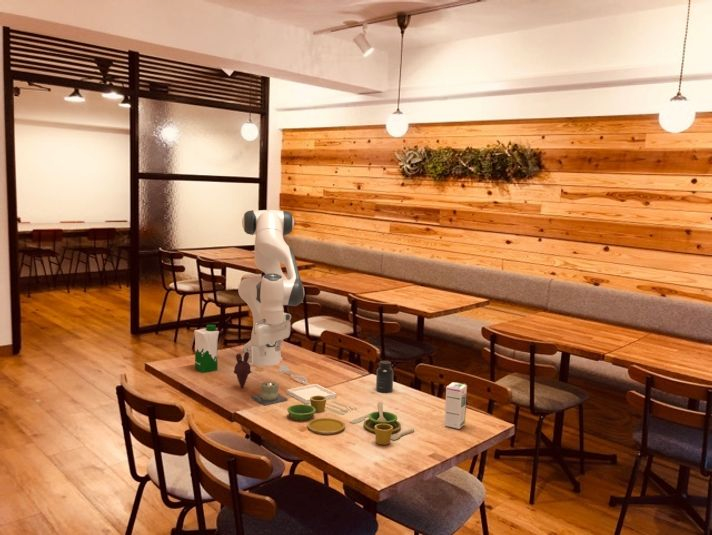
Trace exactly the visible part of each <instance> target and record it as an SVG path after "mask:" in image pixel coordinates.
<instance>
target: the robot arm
mask: <svg viewBox="0 0 712 535" xmlns="http://www.w3.org/2000/svg"><path fill="white" fill-rule="evenodd" d="M241 225H242V228H243V232H245V233H246V234H247V235H251V236H253V235H255V238H254V239H255V240H254V265H255V267H256V268H257V269H258V270H259V271H261V272H263V273H264V275H263V276H262V278H261V277H249V278H244V279H242V280H241V281H240V283H239V285H238V287H237V288H238V290H237V291H238V295H239V297H240V298H241V300H242V301H244V302H245V303H246V304H247V306H248V307H249V309H250V312H251V314H252V321H253V322H252V323H253V324H252V325H253V327H252V331H251V332H250V335H251V336H250V337H251V338H250V340H249V341H248V342H246V343H245V344H244V345H243V348H242V353H240V354H241V356H242V361H244V354H245V353H246V352H248V353H249V358H248V361H247V362H248V363H249V365H250V366H258V367H270V366H271V367H272V366H276V365H279V364H280V363H281V361H282V360H283V357H282V356H281V353H282V352H281V351H282V345H283V342H284V340H285V339H288V338H290V335H291V319H292V315H291V314H290V313H287V312H284V306H291V307H297V306H299V305H300V304H301V303H302V302H303V301H304V300H305V288H304V286H303V283H302V279H301V277H300V273H299V269H298V265H297V261H296V258H295V257H296V256H295V253H294V251H293V248H292V246H290V245H288V244H287V243H286V241H285V239H284V237H285V236H287V235H290V234H291V233H292V232H293V230H294V227H295V219H294V216H293V214H292V212H290V211H288V210H287V211H286V210H277V209H262V210H261V209H260V210H253V209H252V210H247V211H246V212H245V213H244V214H243V217H242V219H241ZM281 264H283V265H284V266H285V268H286V272H287V276H286V275H285V274H284V272H283V270H282V266H281ZM287 277H288V278H287Z"/></svg>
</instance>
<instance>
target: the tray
mask: <svg viewBox="0 0 712 535" xmlns="http://www.w3.org/2000/svg"><path fill="white" fill-rule="evenodd" d="M286 394H287V395H288V396H291V397H292V398H294V399H296V400H298V401H299V402H301V403H304V405H311V401H310V398H311V397H312V396H317V395H320V396H324V397H326V401H329V400H332V399H337V397H338V396H337V395H338V394H337V393H336V392H334V391H332V390H330V389H328V388H326V387H323V386H322V385H320V384H318V383H313V384H309V385H304V386H297V387H293V388H287V389H286Z"/></svg>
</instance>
